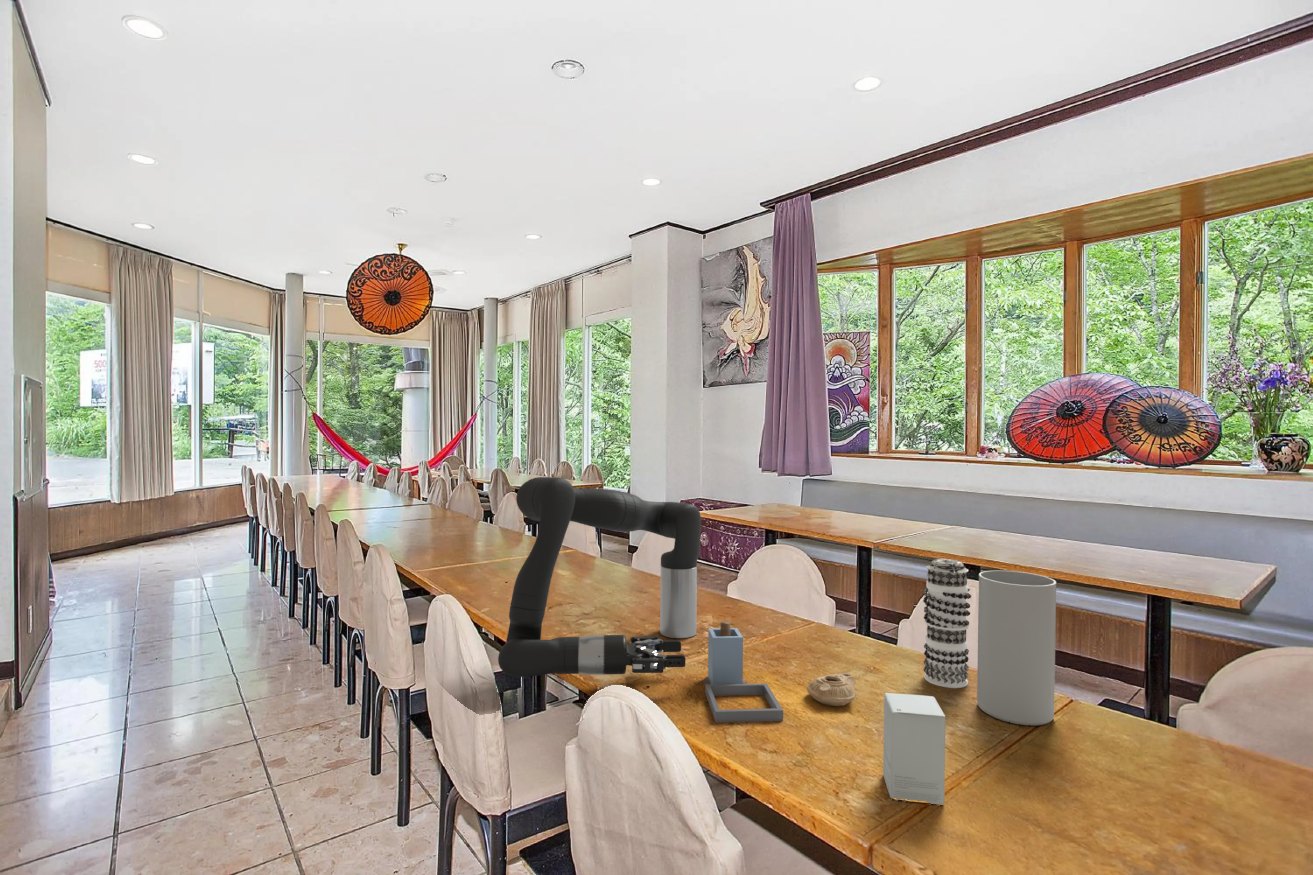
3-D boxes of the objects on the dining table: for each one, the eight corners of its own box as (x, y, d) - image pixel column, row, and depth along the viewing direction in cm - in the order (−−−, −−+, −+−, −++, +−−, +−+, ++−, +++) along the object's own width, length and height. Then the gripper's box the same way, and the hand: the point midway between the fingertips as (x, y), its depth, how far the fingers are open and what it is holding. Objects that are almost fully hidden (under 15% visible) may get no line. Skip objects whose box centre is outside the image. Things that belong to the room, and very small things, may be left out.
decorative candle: (976, 679, 136) (978, 560, 135) (961, 692, 129) (963, 567, 129) (931, 668, 142) (933, 554, 142) (915, 680, 135) (916, 560, 135)
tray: (705, 698, 125) (705, 684, 125) (766, 697, 126) (766, 683, 126) (715, 727, 113) (715, 711, 113) (783, 725, 114) (783, 710, 114)
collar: (708, 676, 134) (708, 628, 134) (736, 675, 134) (737, 627, 134) (712, 688, 128) (713, 637, 128) (742, 687, 128) (743, 637, 128)
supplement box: (945, 807, 90) (947, 716, 90) (889, 800, 91) (890, 711, 91) (934, 779, 97) (935, 695, 97) (882, 773, 98) (883, 690, 98)
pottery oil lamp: (871, 695, 127) (877, 670, 123) (836, 732, 120) (841, 707, 116) (833, 668, 132) (837, 644, 129) (797, 702, 125) (801, 677, 122)
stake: (699, 678, 135) (700, 616, 135) (742, 677, 136) (743, 616, 136) (706, 696, 126) (706, 630, 126) (751, 695, 127) (752, 629, 127)
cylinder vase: (1026, 733, 112) (1028, 589, 112) (962, 705, 123) (964, 574, 123) (1069, 718, 118) (1071, 581, 117) (1004, 693, 129) (1006, 568, 128)
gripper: (601, 647, 122) (687, 646, 123) (602, 624, 136) (679, 623, 137) (601, 687, 122) (687, 685, 123) (602, 660, 136) (679, 659, 137)
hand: (683, 653), depth 130 cm, fingers open, 8 cm apart
